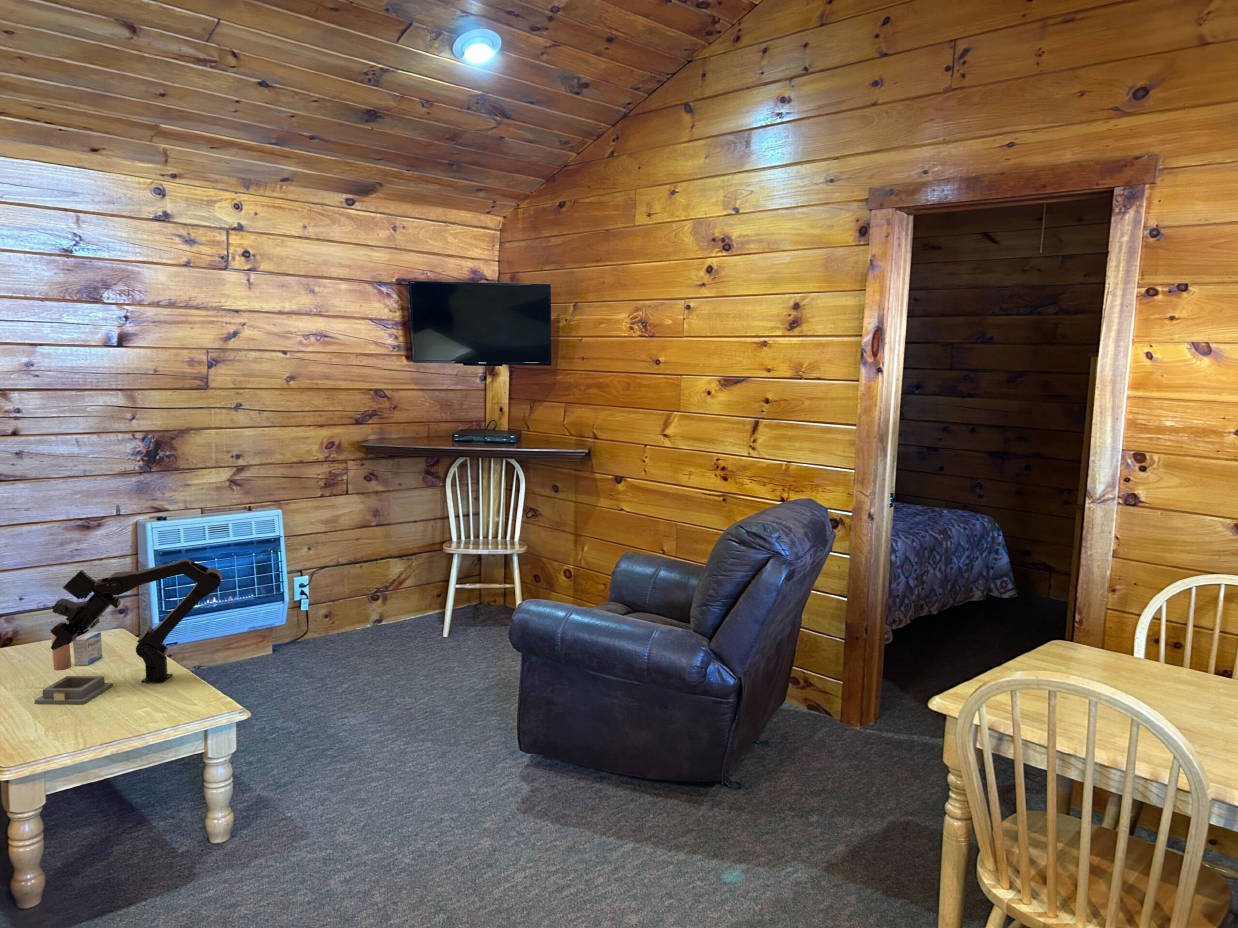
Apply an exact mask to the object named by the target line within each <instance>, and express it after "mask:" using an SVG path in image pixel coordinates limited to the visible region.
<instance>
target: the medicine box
mask: <svg viewBox="0 0 1238 928" xmlns="http://www.w3.org/2000/svg"><path fill="white" fill-rule="evenodd" d="M102 645H103V644H102V634H101V631H88V632H86V633H85V634H83V635H81V636H79V637H77V638H76V640H75V641H73V642H72V646H73V647H72V649H73V657H74V658H73V661H74V666H90V665H91V664H93V663H95V662H96V661H98V660H99V659H102V658H103V646H102Z"/></svg>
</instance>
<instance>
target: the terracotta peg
mask: <svg viewBox="0 0 1238 928" xmlns="http://www.w3.org/2000/svg"><path fill="white" fill-rule="evenodd" d="M53 628H54V627H52V628H51V629H50V631H51V630H52V629H53ZM50 637H51V638H50V639H51V645H52V644H53V642H54V640H55V639H56V636H55V635H53V634H52V633H51V632H50ZM70 644H71V643H70ZM70 644H69V645H67V644H66V645H64V646H62V647H60V648H57V649H55V650H52V649H51V651H52V663H53V670H54V671H66V670H69V669H71V668H72V656H71V645H70Z"/></svg>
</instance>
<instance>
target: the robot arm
mask: <svg viewBox="0 0 1238 928" xmlns="http://www.w3.org/2000/svg"><path fill="white" fill-rule="evenodd" d="M179 575H184V576H186V577H187V578H188V579H190V580H192V581H193V582H195V584H194V586H193V588H192V589H191V590H190V591H189V592H188V593H187V595H186V596H185V597H184V598H183V599H182V600H181V601H180V602H179V603H178V604H177V606H176V607H174V608H173V610H172V611H171V612H170V613H169V614H168V615H167V616H166V617H165V618H164V619H163V620H162V621H161V622H160V624H158V625H157V626H155V627H154V628H153V627H152V626H151V625H149V626H148V628H146V630H145V631H144V633H142V634H140V635H139V638H138V639H137V644H136V646H135V653H136V655H137V656H138V657H139V658H141V659H142V660H143V662H144V664H145V665H144V667H145V678H143V679H141V681H140V682H141V683H149V684H150V683H154V684H155V683H156V684H158V683H161V684H162V683H164V682H165V681H167V680H169V678H171V677H173V673H168V658H167V653H168V650H169V647H167V646H166V645H164V644H163V643H164V642H165V640H166V639H167V637H168V635H169V634H171V632H172V631H173V630H174V629H175V628H176V627H177V626H178V624H180V623H181V621H183V620H184V618H186V616H187V615H188V614H190V612H191V611H192V610H193V609H194V608H195V607H196V605H197V604H199V602H200V601H202V599H205V598H206V597H207V596H209V595H210V594H212V593H213V592H214V591H216V590H217V589H219V587H220V586H221V583H222V579H223V574H222V572H221V571H220V570H219V569H217V568H215V567H211V568H210V567H208V566H206V565H203V564H201V563H198V562H195V561H193V560H191V559H189V558H182V559H179V560H177V561H171V562H169V563H164V564H161V565H158V566H153V567H149V568H145V569H142V570H127V571H117V572H114V573H112V574H111V575H110V576H108V577H103V578H99V579H97V580H96V579H94V578H93V577H92V576H89V574H88V573H87V572H85V571H84V570H83V569H82V570H81V569H80V570H79V571H78V572H77V573H76V574H75V575H74V576H72V577H71V578H70V579H69V580H68V581H67V583H65V584H64V585H63V587H62V589H63V590H64V591H66V592H67V593H69V594H71V595H72V596H73V597H74V598H76V599H77V600H83V599H84V600H86V598H87V597H89V596H90V595H91V594H92V595H91V596H90V597H89V598H88V599H87V600H86V601H85V602H83V603H82V604H79V603H77V602H75V601H73V600H70V599H68V598H63V597H62V598H60V599H58V600H57V601H55V603H54V605H52V613H53V614H57V615H60V616H64V617H66V618H65V620H66V621H68V623H67V622H66V621H64V622H59V623H58V624H56V625H55V626H53V627H52V628H53V629H52V628H51V629H52V630H51V629H50V634H51V633H52V634H53V635H55V636H56V639H55V640H54V642H53V644H52V643H51V646H50V649H51V651H52V650H55V649H57V648H60V647H62V646H64V645H66V644H67V645H69V644H71V643H72V644H73V641H75V640H76V638H77V637H79V636H81V635H83V634H85V633H87V632H90V629H91V630H92V629H94V628H95V627H96V626H97V625H98V624H100V618H101V617H102V616H103V614H104V612H106V610H108V609H109V607H111V606H112V607H114V608H115V609H118V608H119V607H120V605H121V604H122V602H121V597H120V595H122V594H123V595H124V594H125V593H127V592H129V591H132V590H134V589H135V588H137V587H139V586H142V585H144V584H145V585H146V584H148V583H149V584H150V583H153V582H157V581H160V580H164V579H168V578H172V577H175V576H179Z"/></svg>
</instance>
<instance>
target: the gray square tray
mask: <svg viewBox="0 0 1238 928" xmlns="http://www.w3.org/2000/svg"><path fill="white" fill-rule="evenodd" d="M112 687H114V683H113V682H106V681H105V676H102V675H101V676H97V675H94V676H91V675H88V676H87V675H86V676H85V675H82V676H79V675H78V676H77V675H66V676H64V677H63V678H61V679H59V680H58V681H56V682H54V683H52V684H50V685H48V686H47V687H45V688H43V689H42V696H39V697H37V698H35V699H34V701H33V702H34V704H35V705H86V704H87V703H89V702H90V701H92V700H93V699H95V698H96V697H98V696H100V695H101V694H102V693H104V692H106V691H108V690H109V689H111V688H112Z"/></svg>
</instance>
